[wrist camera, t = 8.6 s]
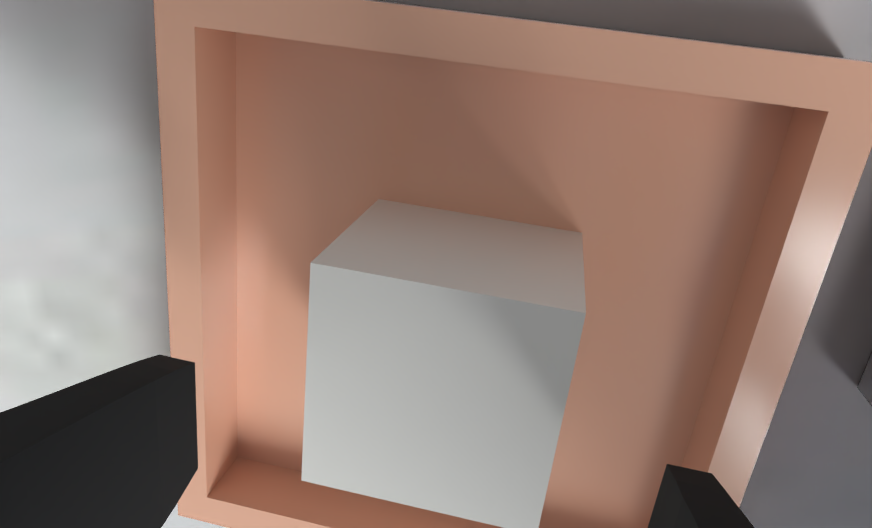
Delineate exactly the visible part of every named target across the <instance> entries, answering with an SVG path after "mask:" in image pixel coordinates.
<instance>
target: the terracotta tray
mask: <svg viewBox="0 0 872 528" xmlns="http://www.w3.org/2000/svg"><path fill="white" fill-rule="evenodd" d="M154 20H155V41H156V62H157V82H158V103H159V124H160V145H161V166H162V187H163V207H164V228H165V249H166V270H167V291H168V312H169V332H170V353H171V357H172V358H177V359H182V360H186V361H191V362H195V381H196V414H197V447H198V469H197V471H196V473H195V474H194V476H193V478H192V479H191V481H190V483H189V484H188V486H187V488H186V489H185V491H184V493H183V494H182V496H181V498H180V499H179V501H178V515H180V516H184V517H188V518H192V519H196V520H200V521H204V522H208V523H212V524H216V525H220V526H224V527H228V528H503V527H499V526H494V525H490V524H486V523H481V522H477V521H473V520H469V519H464V518H460V517H456V516H451V515H447V514H443V513H439V512H434V511H430V510H426V509H421V508H417V507H413V506H409V505H404V504H400V503H396V502H391V501H387V500H383V499H379V498H374V497H370V496H366V495H361V494H357V493H353V492H349V491H344V490H340V489H336V488H331V487H327V486H323V485H318V484H314V483H310V482H306V481H301V477H302V453H303V429H304V405H305V381H306V357H307V333H308V309H309V285H310V263H311V262H312V261H313V260H314V259H315V258H316V257H317V256H318V255H319V254H320V253H321V252H322V251H324V250H325V249H326V248H327V247H328V246H329V245H330V244H331V243H332V242H333V241H334V240H335V239H336V238H337V237H339V236H340V235H341V234H342V233H343V232H344V231H345V230H346V229H347V228H348V227H349V226H350V225H351V224H352V223H354V222H355V221H356V220H357V219H358V218H359V217H360V216H361V215H362V214H363V213H364V212H365V211H366V210H367V209H369V208H370V207H371V206H372V205H373V204H374V203H375V202H376V201H377V200H378V199H382V200H388V201H394V202H400V203H406V204H412V205H418V206H424V207H430V208H436V209H442V210H448V211H454V212H460V213H466V214H472V215H478V216H484V217H490V218H496V219H502V220H508V221H514V222H520V223H526V224H532V225H538V226H544V227H550V228H556V229H562V230H568V231H574V232H580V233H582V239H583V260H584V281H585V302H586V316H585V320H584V325H583V329H582V334H581V338H580V343H579V347H578V352H577V356H576V361H575V365H574V370H573V374H572V379H571V383H570V388H569V392H568V397H567V401H566V406H565V410H564V415H563V419H562V424H561V428H560V433H559V437H558V442H557V447H556V451H555V456H554V460H553V465H552V469H551V474H550V478H549V483H548V487H547V492H546V496H545V501H544V505H543V510H542V514H541V519H540V523H539V528H648V525H649V521H650V518H651V515H652V511H653V508H654V505H655V501H656V498H657V495H658V492H659V488H660V485H661V482H662V478H663V475H664V472H665V468H666V465H667V464H671V465H675V466H680V467H684V468H689V469H694V470H698V471H703V472H708V473H712V474H713V475H714V476H715V478H716V479H717V480H718V481H719V483H720V484H721V485H722V486H723V488H724V489H725V490H726V492H727V493H728V494H729V495H730V497H731V498H732V499H733V501H734V502H735V503H736V505H737V506H738V507H740V504H741V502H742V499H743V496H744V494H745V491H746V488H747V485H748V483H749V480H750V477H751V474H752V472H753V469H754V466H755V464H756V461H757V458H758V455H759V453H760V450H761V447H762V445H763V442H764V439H765V436H766V434H767V431H768V428H769V426H770V423H771V420H772V417H773V415H774V412H775V409H776V406H777V404H778V401H779V398H780V396H781V393H782V390H783V387H784V385H785V382H786V379H787V377H788V374H789V371H790V368H791V366H792V363H793V360H794V357H795V355H796V352H797V349H798V347H799V344H800V341H801V338H802V336H803V333H804V330H805V328H806V325H807V322H808V319H809V317H810V314H811V311H812V309H813V306H814V303H815V300H816V298H817V295H818V292H819V289H820V287H821V284H822V281H823V279H824V276H825V273H826V270H827V268H828V265H829V262H830V260H831V257H832V254H833V251H834V249H835V246H836V243H837V241H838V238H839V235H840V232H841V230H842V227H843V224H844V221H845V219H846V216H847V213H848V211H849V208H850V205H851V202H852V200H853V197H854V194H855V192H856V189H857V186H858V183H859V181H860V178H861V175H862V173H863V170H864V167H865V164H866V162H867V159H868V156H869V153H870V151H871V148H872V62H868V61H861V60H854V59H848V58H840V57H831V56H823V55H815V54H807V53H799V52H791V51H783V50H774V49H766V48H758V47H750V46H742V45H734V44H725V43H717V42H709V41H701V40H693V39H685V38H676V37H668V36H660V35H652V34H644V33H636V32H627V31H619V30H611V29H603V28H595V27H587V26H578V25H570V24H562V23H554V22H546V21H538V20H530V19H521V18H513V17H505V16H497V15H489V14H481V13H472V12H464V11H456V10H448V9H440V8H432V7H423V6H415V5H407V4H399V3H391V2H383V1H374V0H154Z"/></svg>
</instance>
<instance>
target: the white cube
mask: <svg viewBox="0 0 872 528" xmlns="http://www.w3.org/2000/svg"><path fill="white" fill-rule="evenodd" d="M585 316H586V302H585V281H584V260H583V239H582V233H580V232H574V231H568V230H562V229H556V228H550V227H544V226H538V225H532V224H526V223H520V222H514V221H508V220H502V219H496V218H490V217H484V216H478V215H472V214H466V213H460V212H454V211H448V210H442V209H436V208H430V207H424V206H418V205H412V204H406V203H400V202H394V201H388V200H382V199H378V200H377V201H376V202H375V203H374V204H373V205H372V206H371V207H370V208H369V209H367V210H366V211H365V212H364V213H363V214H362V215H361V216H360V217H359V218H358V219H357V220H356V221H355V222H354V223H352V224H351V225H350V226H349V227H348V228H347V229H346V230H345V231H344V232H343V233H342V234H341V235H340V236H339V237H337V238H336V239H335V240H334V241H333V242H332V243H331V244H330V245H329V246H328V247H327V248H326V249H325V250H324V251H322V252H321V253H320V254H319V255H318V256H317V257H316V258H315V259H314V260H313V261H312V262H311V263H310V285H309V309H308V333H307V357H306V381H305V405H304V429H303V453H302V477H301V481H306V482H310V483H314V484H318V485H323V486H327V487H331V488H336V489H340V490H344V491H349V492H353V493H357V494H361V495H366V496H370V497H374V498H379V499H383V500H387V501H391V502H396V503H400V504H404V505H409V506H413V507H417V508H421V509H426V510H430V511H434V512H439V513H443V514H447V515H451V516H456V517H460V518H464V519H469V520H473V521H477V522H481V523H486V524H490V525H494V526H499V527H503V528H539V523H540V519H541V514H542V510H543V505H544V501H545V496H546V492H547V487H548V483H549V478H550V474H551V469H552V465H553V460H554V456H555V451H556V447H557V442H558V437H559V433H560V428H561V424H562V419H563V415H564V410H565V406H566V401H567V397H568V392H569V388H570V383H571V379H572V374H573V370H574V365H575V361H576V356H577V352H578V347H579V343H580V338H581V334H582V329H583V325H584V320H585Z"/></svg>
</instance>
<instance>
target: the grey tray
mask: <svg viewBox="0 0 872 528" xmlns="http://www.w3.org/2000/svg"><path fill="white" fill-rule="evenodd" d="M857 388H858V389H859V390H860V392H861V393H862V394H863V395H864V397H865V398H866V399H867V401H868V402H869V403H870V404H871V406H872V354H871V356H870V359H869V361H868V364H867V366H866V368H865V371H864V373H863V376H862V378H861V380H860V383H859V385H858V387H857Z"/></svg>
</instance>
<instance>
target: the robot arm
mask: <svg viewBox="0 0 872 528" xmlns="http://www.w3.org/2000/svg"><path fill="white" fill-rule="evenodd" d="M197 469H198V447H197V414H196V381H195V362H191V361H186V360H182V359H177V358H172V357H168V356H163V355H157V356H154V357H150V358H147V359H144V360H140V361H137V362H135V363H132V364H129V365H126V366H123V367H120V368H118V369H115V370H112V371H110V372H107V373H104V374H102V375H99V376H96V377H94V378H91V379H89V380H86V381H83V382H81V383H78V384H75V385H73V386H70V387H68V388H65V389H62V390H60V391H57V392H54V393H52V394H49V395H46V396H44V397H41V398H39V399H36V400H33V401H31V402H28V403H25V404H23V405H20V406H17V407H15V408H12V409H9V410H6V411H3V412H1V413H0V528H161V527H162V526H163V524H164V523H165V521H166V520H167V518H168V516H169V515H170V513H171V512H172V510H173V509H174V507H175V506H176V504H177V503H178V501H179V499H180V498H181V496H182V494H183V493H184V491H185V489H186V488H187V486H188V484H189V483H190V481H191V479H192V478H193V476H194V474H195V473H196V471H197ZM648 528H754V527H753V525H752V524H751V523H750V522H749V520H748V519H747V518H746V516H745V515H744V514H743V512H742V511H741V510H740V508H739V507H738V506H737V505H736V503H735V502H734V501H733V499H732V498H731V497H730V495H729V494H728V493H727V492H726V490H725V489H724V488H723V486H722V485H721V484H720V483H719V481H718V480H717V479H716V478H715V476H714V475H713V474H712V473H708V472H703V471H698V470H694V469H689V468H684V467H680V466H675V465H671V464H667V465H666V468H665V472H664V475H663V478H662V482H661V485H660V488H659V492H658V495H657V498H656V501H655V505H654V508H653V511H652V515H651V518H650V521H649V525H648Z"/></svg>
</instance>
